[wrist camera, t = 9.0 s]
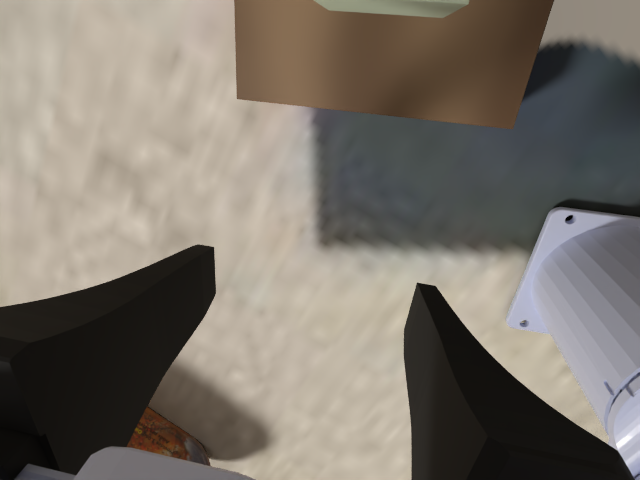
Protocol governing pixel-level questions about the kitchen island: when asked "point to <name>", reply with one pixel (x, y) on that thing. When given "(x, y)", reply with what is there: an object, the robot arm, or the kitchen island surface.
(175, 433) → the tin
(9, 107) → the kitchen island surface
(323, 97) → the plinth
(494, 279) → the kitchen island surface
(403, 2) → the block
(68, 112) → the kitchen island surface
